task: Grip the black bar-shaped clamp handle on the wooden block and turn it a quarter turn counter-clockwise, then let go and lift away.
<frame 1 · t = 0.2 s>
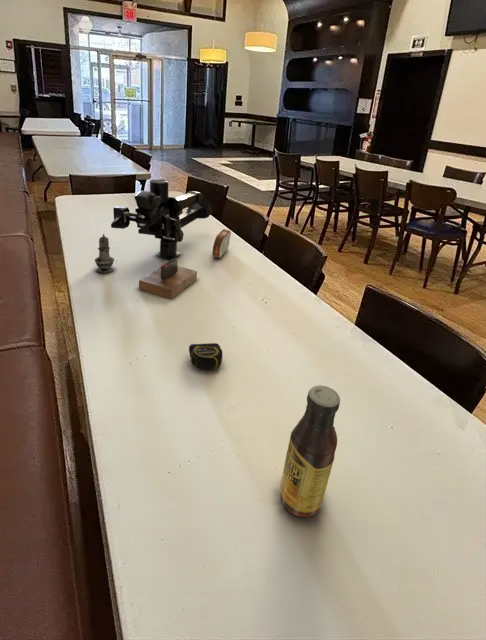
hand: (125, 228, 117), 17 cm above the table, tool horizontal, fingers open, 9 cm apart
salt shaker: (104, 270, 130), on the table
clamp handle: (169, 268, 122), point 5 cm above the table, hinge at 0.0°
tin: (221, 254, 150), on the table
tape measure: (203, 363, 90), on the table
wooden block: (168, 284, 124), on the table
sauce bottle: (299, 502, 60), on the table
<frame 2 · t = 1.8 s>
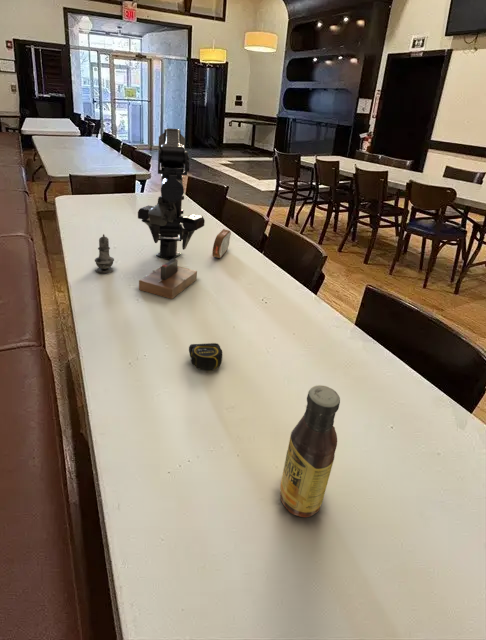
hand: (169, 246, 119), 12 cm above the table, tool pointing down, fingers open, 9 cm apart
nothing on the table moved.
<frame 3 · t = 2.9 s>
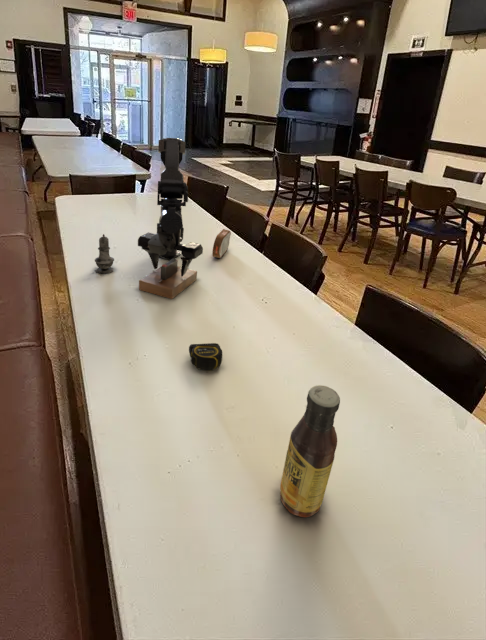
hand: (169, 272, 122), 4 cm above the table, tool pointing down, fingers open, 9 cm apart
nothing on the table moved.
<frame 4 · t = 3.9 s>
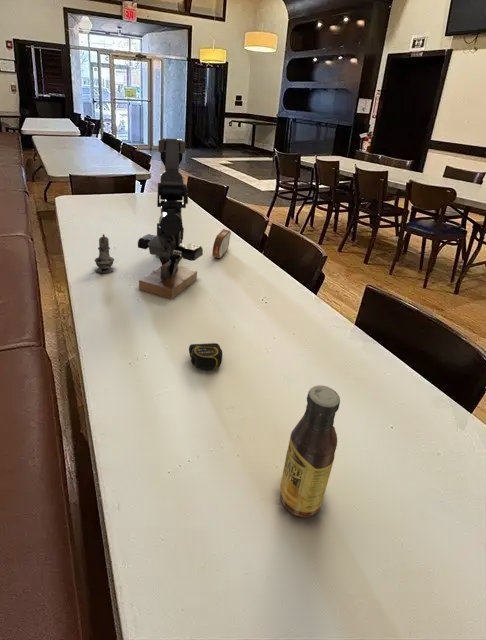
hand: (169, 273, 122), 4 cm above the table, tool pointing down, fingers closed on clamp handle, 2 cm apart
clamp handle: (169, 268, 122), point 5 cm above the table, hinge at 0.0°, touching gripper
everything else where it was.
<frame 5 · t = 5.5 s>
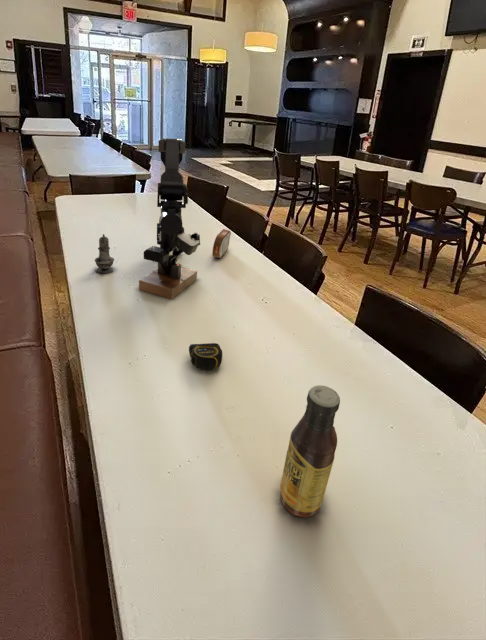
hand: (169, 273, 122), 4 cm above the table, tool pointing down, fingers closed on clamp handle, 2 cm apart
clamp handle: (169, 268, 122), point 5 cm above the table, hinge at 89.9°, touching gripper
everything else where it was.
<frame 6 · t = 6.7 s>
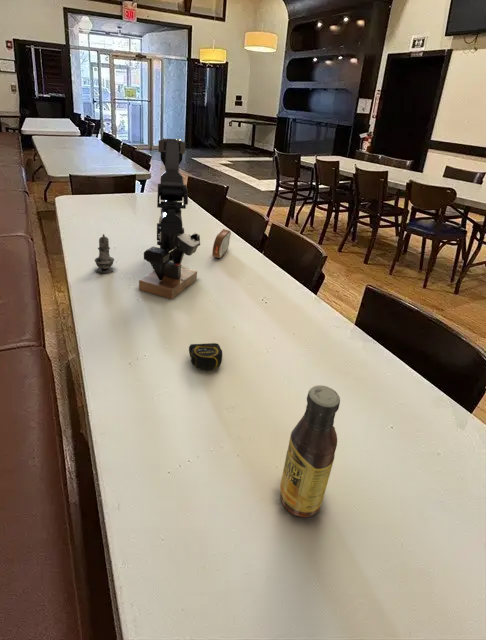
hand: (169, 274, 122), 3 cm above the table, tool pointing down, fingers open, 9 cm apart
clamp handle: (169, 268, 122), point 5 cm above the table, hinge at 89.7°
everything else where it was.
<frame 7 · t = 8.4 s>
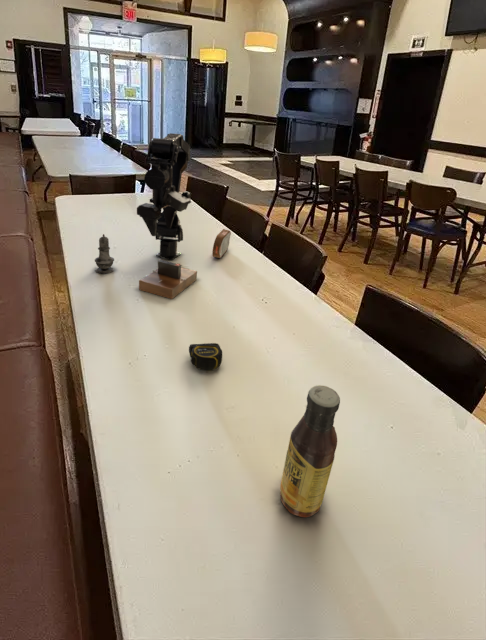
hand: (161, 232, 128), 13 cm above the table, tool pointing down, fingers open, 9 cm apart
nothing on the table moved.
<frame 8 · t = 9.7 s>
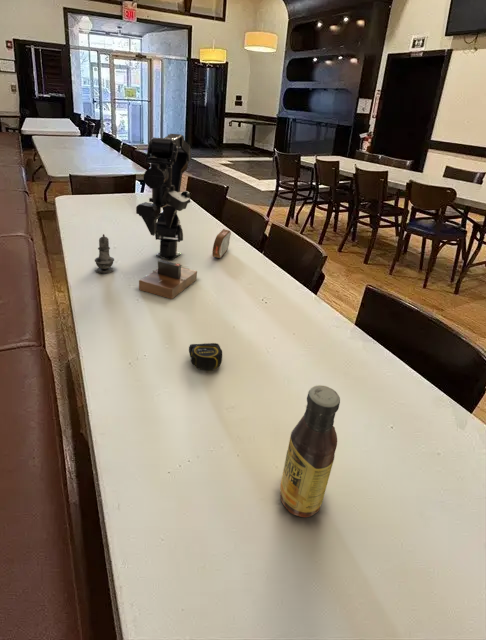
hand: (160, 231, 128), 13 cm above the table, tool pointing down, fingers open, 9 cm apart
nothing on the table moved.
at the end: clamp handle at +90° (first picture: +0°); the gripper is holding nothing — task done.
